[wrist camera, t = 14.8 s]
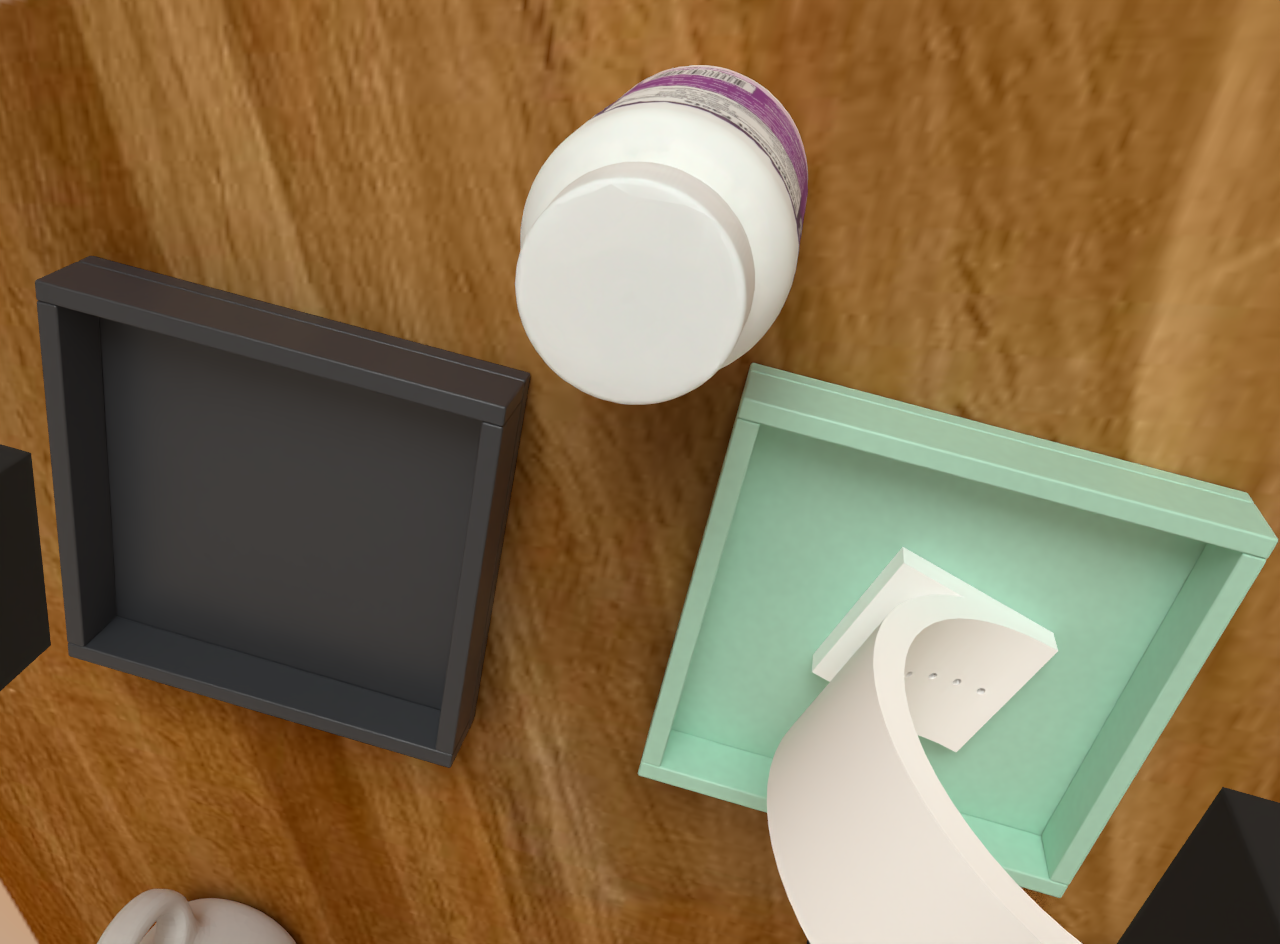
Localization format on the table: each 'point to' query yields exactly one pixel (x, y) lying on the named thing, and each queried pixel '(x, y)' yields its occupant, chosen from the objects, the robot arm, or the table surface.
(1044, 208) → the table surface
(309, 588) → the charcoal tray
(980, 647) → the headphone stand
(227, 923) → the cup
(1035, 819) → the mint tray
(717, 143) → the pill bottle
